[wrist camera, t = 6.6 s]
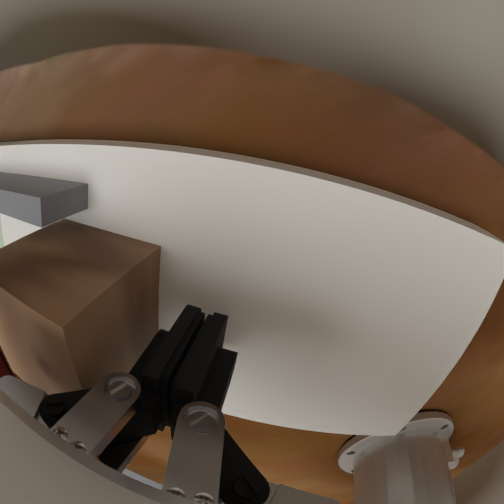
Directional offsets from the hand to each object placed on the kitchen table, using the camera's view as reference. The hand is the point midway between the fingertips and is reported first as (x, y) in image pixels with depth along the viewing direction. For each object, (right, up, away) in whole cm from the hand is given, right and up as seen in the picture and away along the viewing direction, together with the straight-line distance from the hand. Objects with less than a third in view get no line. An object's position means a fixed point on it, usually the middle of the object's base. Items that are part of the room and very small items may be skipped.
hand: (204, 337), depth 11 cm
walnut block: (-5, +2, +2) cm, 6 cm away
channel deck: (-9, +4, +6) cm, 12 cm away
